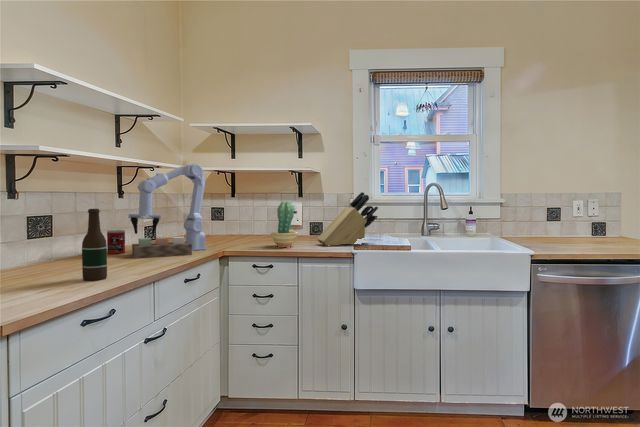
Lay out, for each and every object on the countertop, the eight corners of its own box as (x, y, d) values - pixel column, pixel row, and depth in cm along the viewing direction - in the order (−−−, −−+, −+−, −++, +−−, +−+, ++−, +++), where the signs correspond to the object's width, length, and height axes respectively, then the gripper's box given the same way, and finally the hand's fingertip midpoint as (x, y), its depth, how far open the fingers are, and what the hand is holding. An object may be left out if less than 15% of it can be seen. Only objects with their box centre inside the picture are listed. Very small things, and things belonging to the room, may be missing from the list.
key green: (150, 246, 196) (150, 237, 196) (151, 247, 192) (151, 238, 192) (138, 246, 194) (138, 238, 194) (139, 248, 190) (139, 239, 189)
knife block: (379, 244, 243) (379, 191, 242) (323, 246, 230) (324, 191, 229) (369, 242, 254) (370, 191, 252) (316, 244, 241) (316, 191, 239)
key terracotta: (166, 245, 200) (166, 237, 200) (168, 246, 196) (168, 238, 195) (155, 245, 198) (155, 237, 197) (157, 247, 193) (157, 238, 193)
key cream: (182, 244, 204) (182, 236, 203) (184, 245, 199) (184, 237, 199) (172, 245, 201) (172, 236, 201) (173, 246, 197) (173, 237, 197)
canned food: (105, 254, 195) (105, 231, 195) (109, 252, 203) (109, 230, 202) (123, 254, 197) (123, 231, 197) (126, 251, 205) (126, 229, 204)
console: (186, 251, 208) (186, 241, 208) (191, 254, 197) (191, 243, 197) (132, 254, 197) (132, 243, 196) (134, 258, 185) (134, 246, 185)
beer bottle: (112, 276, 145) (110, 208, 144) (101, 281, 138) (99, 209, 136) (89, 276, 145) (88, 208, 144) (77, 281, 137) (75, 209, 136)
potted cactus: (302, 247, 226) (303, 201, 225) (276, 249, 219) (276, 201, 217) (291, 244, 239) (291, 201, 238) (266, 245, 232) (266, 201, 231)
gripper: (127, 204, 191) (126, 234, 192) (160, 206, 195) (159, 234, 195) (130, 204, 198) (129, 233, 199) (162, 206, 202) (161, 233, 202)
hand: (144, 233), depth 197 cm, fingers open, 7 cm apart
